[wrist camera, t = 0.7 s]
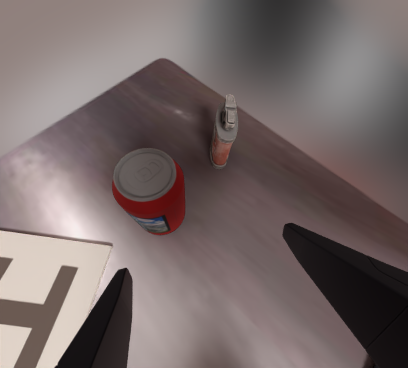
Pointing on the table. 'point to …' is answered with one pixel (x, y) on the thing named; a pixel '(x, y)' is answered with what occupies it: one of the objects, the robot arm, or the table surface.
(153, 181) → the beverage can
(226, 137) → the lighter
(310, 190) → the table surface
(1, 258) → the letter mat
